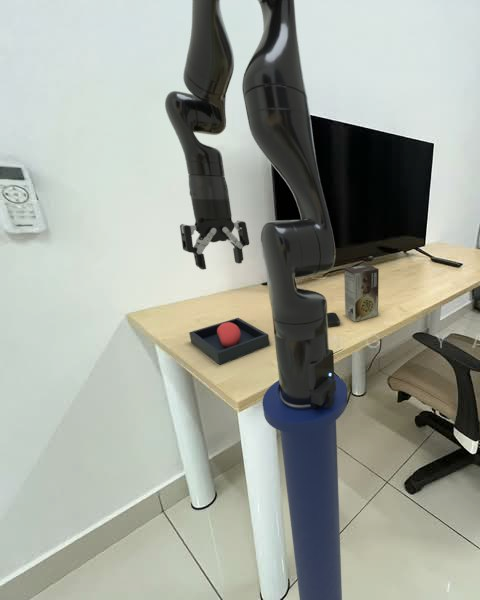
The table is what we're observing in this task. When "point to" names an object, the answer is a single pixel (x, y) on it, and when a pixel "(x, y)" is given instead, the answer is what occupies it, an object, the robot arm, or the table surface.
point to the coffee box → (361, 292)
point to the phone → (333, 319)
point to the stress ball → (229, 334)
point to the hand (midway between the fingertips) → (221, 265)
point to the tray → (248, 343)
